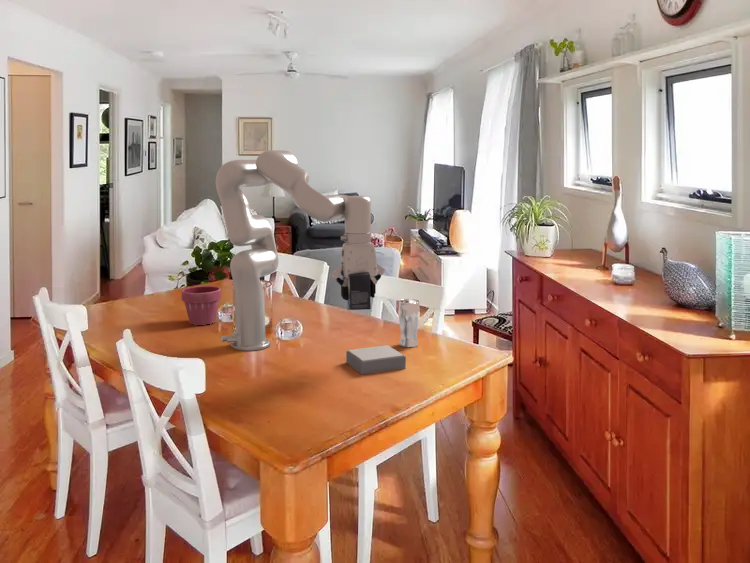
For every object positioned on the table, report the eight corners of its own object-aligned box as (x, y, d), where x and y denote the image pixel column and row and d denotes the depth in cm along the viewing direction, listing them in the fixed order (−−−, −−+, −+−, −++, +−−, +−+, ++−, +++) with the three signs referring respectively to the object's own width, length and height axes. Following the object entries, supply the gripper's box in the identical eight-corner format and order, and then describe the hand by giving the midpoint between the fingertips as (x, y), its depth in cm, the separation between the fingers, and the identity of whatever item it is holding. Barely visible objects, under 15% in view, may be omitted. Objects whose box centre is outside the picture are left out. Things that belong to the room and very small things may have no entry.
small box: (346, 302, 201) (345, 268, 199) (367, 301, 202) (367, 267, 200) (348, 310, 191) (348, 274, 189) (371, 309, 192) (371, 273, 190)
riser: (362, 374, 191) (362, 361, 190) (346, 362, 201) (346, 349, 201) (405, 368, 196) (405, 355, 196) (387, 356, 207) (388, 344, 206)
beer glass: (421, 343, 222) (422, 299, 219) (415, 349, 216) (416, 304, 213) (401, 341, 224) (402, 298, 222) (395, 346, 218) (396, 302, 215)
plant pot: (186, 318, 253) (184, 285, 250) (224, 317, 254) (222, 285, 252) (179, 328, 239) (178, 293, 236) (219, 327, 240) (218, 292, 238)
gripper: (334, 241, 186) (335, 303, 189) (390, 238, 193) (390, 297, 196) (325, 239, 193) (326, 298, 196) (379, 235, 200) (380, 293, 203)
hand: (358, 297), depth 196 cm, fingers closed on small box, 7 cm apart
